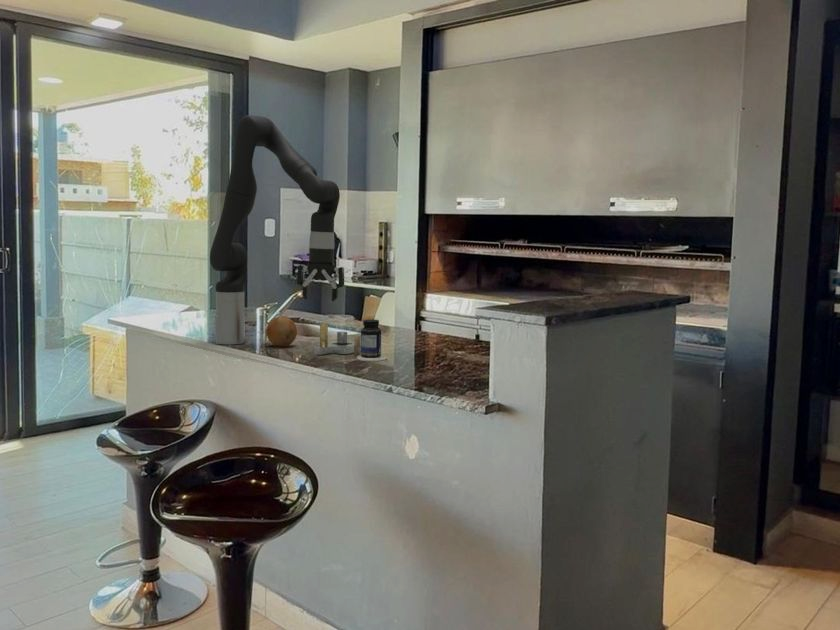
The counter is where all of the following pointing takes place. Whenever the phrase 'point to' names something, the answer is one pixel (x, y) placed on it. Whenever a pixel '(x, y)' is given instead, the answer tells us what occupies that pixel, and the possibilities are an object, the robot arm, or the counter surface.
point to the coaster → (372, 358)
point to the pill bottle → (370, 339)
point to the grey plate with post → (331, 344)
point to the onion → (281, 331)
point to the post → (341, 338)
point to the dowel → (356, 345)
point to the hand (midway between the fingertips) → (320, 299)
